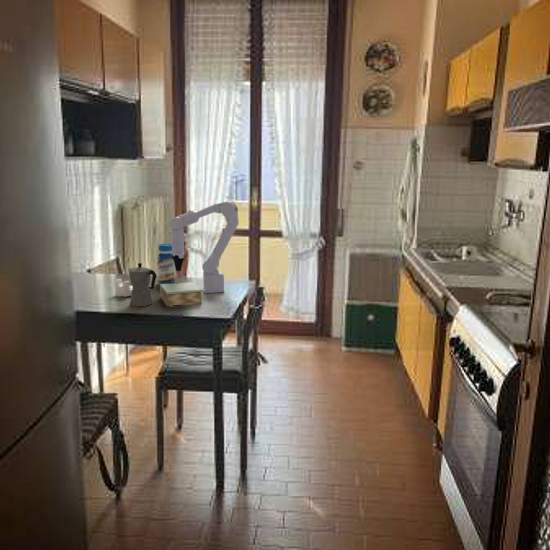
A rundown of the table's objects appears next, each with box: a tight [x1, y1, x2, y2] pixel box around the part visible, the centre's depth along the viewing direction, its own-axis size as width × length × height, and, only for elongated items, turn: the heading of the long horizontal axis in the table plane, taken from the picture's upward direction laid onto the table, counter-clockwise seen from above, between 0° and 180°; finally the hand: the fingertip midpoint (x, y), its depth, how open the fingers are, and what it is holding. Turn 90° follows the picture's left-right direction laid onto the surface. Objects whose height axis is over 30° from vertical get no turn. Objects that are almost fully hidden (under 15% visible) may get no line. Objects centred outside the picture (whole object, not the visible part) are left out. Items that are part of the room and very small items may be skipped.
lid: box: [159, 281, 203, 295], centre depth 240 cm, size 15×16×4 cm
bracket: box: [115, 278, 150, 298], centre depth 250 cm, size 13×7×8 cm, turn 139°
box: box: [159, 286, 203, 307], centre depth 240 cm, size 15×15×5 cm
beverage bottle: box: [156, 243, 176, 285], centre depth 271 cm, size 8×8×20 cm
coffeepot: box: [127, 262, 158, 307], centre depth 232 cm, size 15×9×18 cm, turn 61°
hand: (178, 270), depth 258 cm, fingers closed
